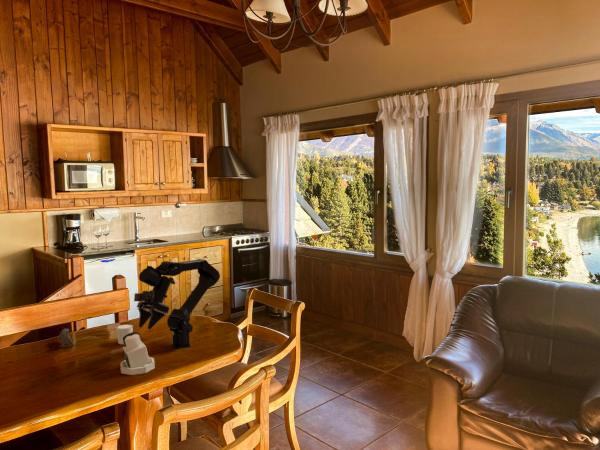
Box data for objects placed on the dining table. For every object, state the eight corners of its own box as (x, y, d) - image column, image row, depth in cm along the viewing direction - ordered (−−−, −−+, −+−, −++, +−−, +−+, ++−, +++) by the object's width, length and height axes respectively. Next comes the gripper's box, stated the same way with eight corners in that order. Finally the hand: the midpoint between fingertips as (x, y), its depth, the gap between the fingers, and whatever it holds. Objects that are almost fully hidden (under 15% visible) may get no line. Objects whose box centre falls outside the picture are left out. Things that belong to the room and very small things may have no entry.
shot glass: (127, 345, 197) (127, 329, 196) (113, 344, 198) (112, 328, 197) (136, 340, 203) (136, 324, 203) (122, 338, 205) (121, 323, 204)
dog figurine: (76, 347, 195) (75, 330, 194) (60, 350, 192) (60, 333, 191) (71, 339, 205) (70, 323, 204) (56, 341, 201) (55, 325, 200)
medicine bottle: (126, 364, 174) (118, 335, 172) (145, 356, 178) (137, 328, 175) (131, 370, 168) (122, 341, 166) (150, 363, 172) (142, 333, 169)
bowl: (152, 359, 181) (152, 354, 180) (156, 371, 170) (155, 365, 169) (120, 364, 176) (119, 359, 176) (121, 376, 165) (121, 371, 165)
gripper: (133, 283, 188) (117, 320, 182) (151, 282, 174) (134, 322, 168) (157, 293, 194) (142, 329, 188) (176, 293, 180) (160, 332, 174)
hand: (144, 328), depth 179 cm, fingers open, 9 cm apart
